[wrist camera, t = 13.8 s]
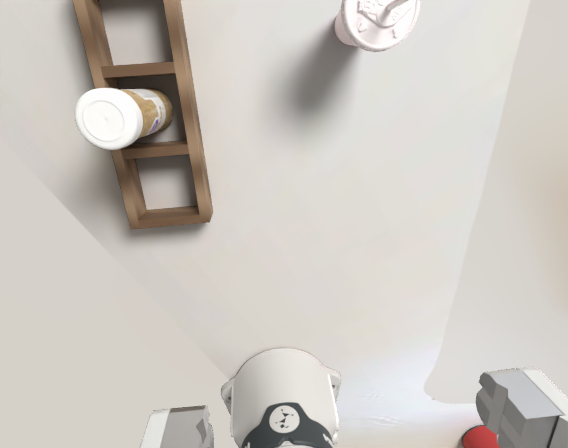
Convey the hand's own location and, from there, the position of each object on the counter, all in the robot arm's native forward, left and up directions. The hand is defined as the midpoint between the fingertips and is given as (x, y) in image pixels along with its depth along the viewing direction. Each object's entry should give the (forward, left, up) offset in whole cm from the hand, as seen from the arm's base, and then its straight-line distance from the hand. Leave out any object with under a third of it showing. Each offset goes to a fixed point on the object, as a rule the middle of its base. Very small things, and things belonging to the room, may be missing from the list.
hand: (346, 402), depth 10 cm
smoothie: (+14, -9, -34) cm, 38 cm away
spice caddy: (+7, +13, -34) cm, 37 cm away
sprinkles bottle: (+7, +13, -34) cm, 37 cm away
